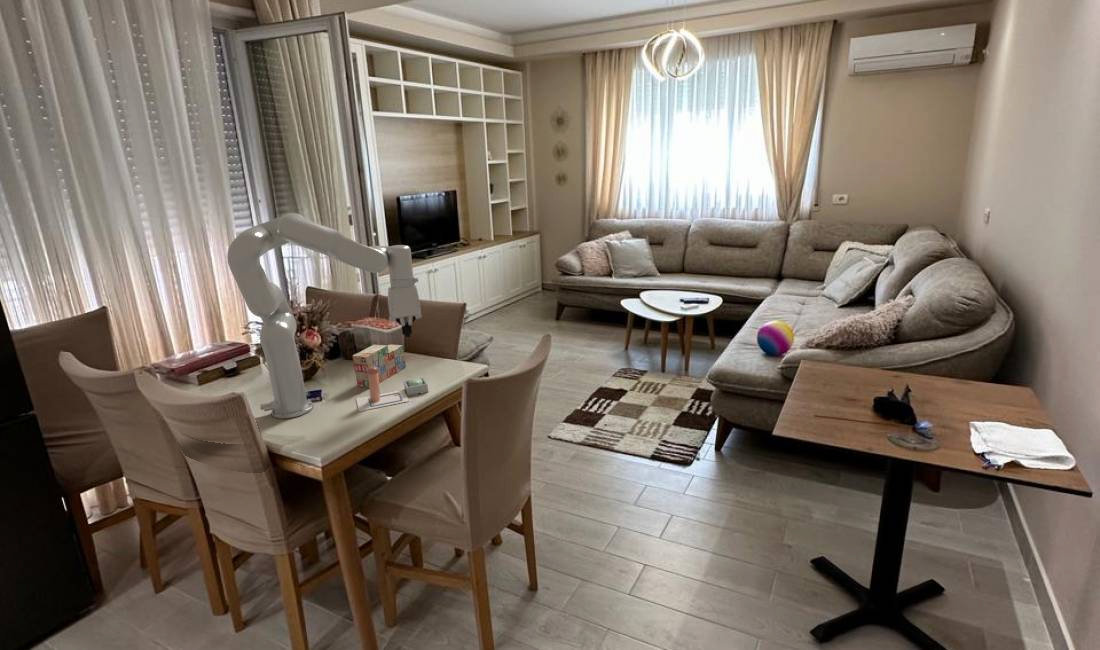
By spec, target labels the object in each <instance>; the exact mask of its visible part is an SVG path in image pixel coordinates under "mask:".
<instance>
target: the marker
mask: <svg viewBox="0 0 1100 650" xmlns="http://www.w3.org/2000/svg"><path fill="white" fill-rule="evenodd" d="M367 371H368V379H369V388H368V389H369V396H370V401H371V402H378V401H380V394H381V393H380V391H381V390H380V384H379V378H378V367H376V366H372V367H368V368H367Z"/></svg>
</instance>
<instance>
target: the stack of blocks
mask: <svg viewBox="0 0 1100 650" xmlns="http://www.w3.org/2000/svg"><path fill="white" fill-rule="evenodd" d="M352 361H353V367H354V372H355V378H356V384H357V385H356V386H357V387H358V388H365V389H369V379H368V371H367V368H368V367H372V366H376V367H378V378H379V385H380V384H381V383H383V382H384V381H387V379H389V378H391V377H392V376H394V375H396V374H397V373H399V372H401V371H402V370H404V369H406V366H407V365H406V359H405V352H404V345H403V344H402V345H400V344H388V345H387V344H386V345H384V344H372V345H370V346H368V347H367V348H364V349H362V350H361V351H359V352H357V353H354V354H353V355H352Z"/></svg>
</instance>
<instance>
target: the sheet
mask: <svg viewBox="0 0 1100 650" xmlns="http://www.w3.org/2000/svg"><path fill="white" fill-rule="evenodd" d="M355 400H356V405H357V409H358V412H365V411H369V410H375V409H380V408H384V407H390V406H394V404H395V405H400V404H404V402H405V403H408V402H409V398H408V395H407V393H406V391H405V389H400V390H394V391H389V392H385V393H380V401H378V402H371V401H370V395H369V396H364V397H359V398H356V399H355ZM399 403H400V404H399ZM409 403H410V402H409Z"/></svg>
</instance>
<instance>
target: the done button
mask: <svg viewBox="0 0 1100 650" xmlns="http://www.w3.org/2000/svg"><path fill="white" fill-rule="evenodd" d="M409 380H410V381H408V384H409V387H412V386H417V385H422V384H423V382H422V379H418V378H413V379H409Z"/></svg>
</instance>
